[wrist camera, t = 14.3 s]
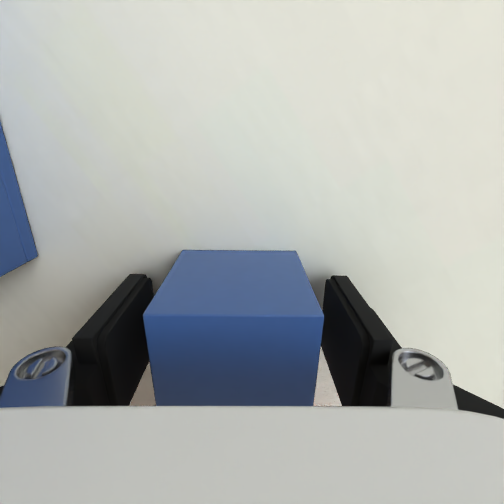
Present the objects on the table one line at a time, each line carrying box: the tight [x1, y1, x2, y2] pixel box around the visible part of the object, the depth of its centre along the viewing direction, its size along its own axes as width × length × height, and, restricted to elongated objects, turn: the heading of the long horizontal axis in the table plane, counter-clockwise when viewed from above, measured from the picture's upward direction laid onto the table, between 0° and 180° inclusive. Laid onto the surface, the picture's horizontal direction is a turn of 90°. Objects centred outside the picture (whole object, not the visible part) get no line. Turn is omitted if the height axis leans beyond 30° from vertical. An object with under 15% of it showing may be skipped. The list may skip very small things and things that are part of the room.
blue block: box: [143, 250, 324, 406], centre depth 10 cm, size 4×4×4 cm
